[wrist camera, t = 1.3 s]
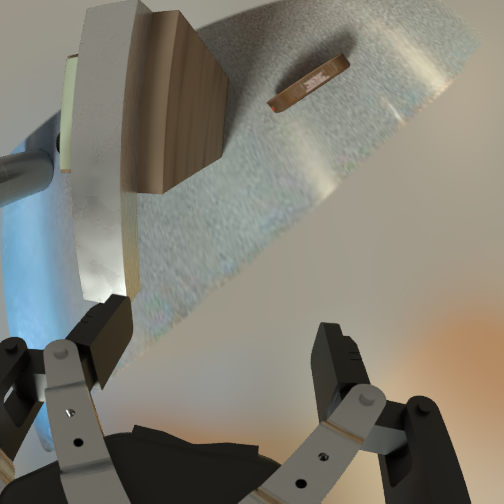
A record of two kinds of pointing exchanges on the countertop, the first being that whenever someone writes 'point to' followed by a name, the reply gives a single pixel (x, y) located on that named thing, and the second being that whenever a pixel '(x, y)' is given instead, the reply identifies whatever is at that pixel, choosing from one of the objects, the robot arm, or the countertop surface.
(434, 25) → the countertop surface
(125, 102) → the steel bar
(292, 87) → the tin
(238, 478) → the robot arm
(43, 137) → the countertop surface
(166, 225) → the countertop surface
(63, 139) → the walnut stand
